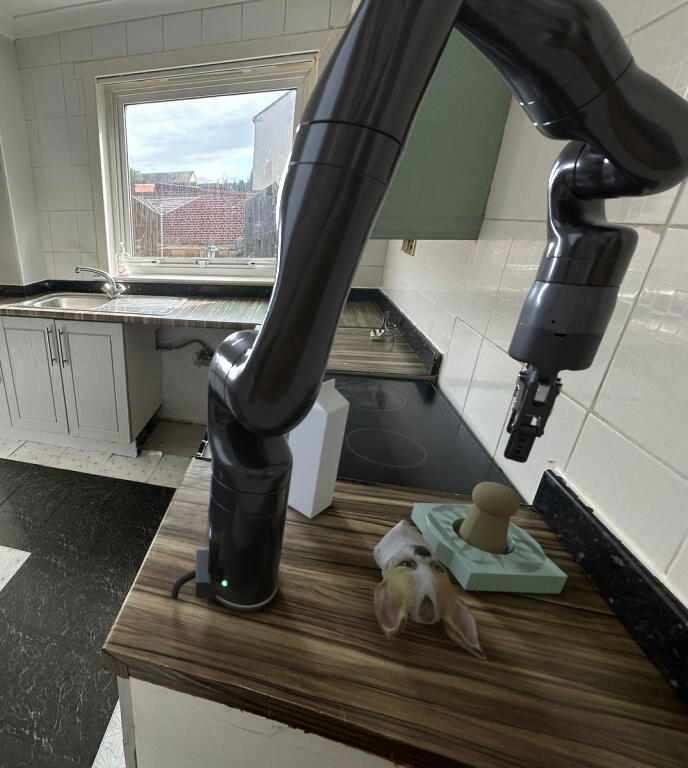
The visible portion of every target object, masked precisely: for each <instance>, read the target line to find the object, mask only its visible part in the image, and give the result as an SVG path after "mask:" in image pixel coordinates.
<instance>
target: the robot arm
mask: <svg viewBox="0 0 688 768" xmlns="http://www.w3.org/2000/svg"><path fill="white" fill-rule="evenodd" d="M453 30H455V31H456V32H457V33H458V34H460V35H461V37H463V38H464V39H465V40H466V41H467V42H468V44H470V45H471V46H472V47H474V49H476V51H477V52H478V53H480V55H481V56H482V57H483V58H484V59H485V61H487V62H488V64H489V65H490V66H491V67H492V68H493V69H494V71H495V72H496V73H497V74H498V76H499V77H500V78H501V79H502V80H503V83H504V84H505V85H506V86H507V88H508V89H509V90H510V92H511V94H512V95H513V97H514V98H515V99H516V101H517V102H518V104H519V106H520V107H521V108H522V110H523V112H524V113H525V114H526V116H527V118H528V120H530V122H531V123H532V124H533V126H534V128H535V129H536V130H537V131H538V132H539V133H540V135H541V136H542V137H544V138H545V139H548V140H551V141H559V142H560V141H561V142H567V143H566V144H565V146H564V147H563V148H562V149H561V150H560V152H559V154H558V155H557V156H556V158H555V160H554V162H553V164H552V166H551V169H550V171H549V174H548V175H549V176H548V180H547V189H546V191H547V192H546V243H545V244H546V245H545V248H544V250H543V253H542V257H541V259H540V262H539V265H538V268H537V271H536V274H535V277H534V280H533V283H532V285H531V287H530V289H529V291H528V293H527V295H526V297H525V299H524V301H523V305H522V308H521V310H520V314H519V317H518V320H517V322H516V326H515V329H514V332H513V335H512V338H511V341H510V344H509V347H508V350H507V354H508V356H509V357H510V358H511V359H512V360H515V361H516V362H519V363H522V364H526V365H525V368H524V370H519V371H518V374H517V376H516V377H517V378H516V381H515V384H516V385H515V387H514V390H513V396H512V397H514V399H513V401H512V409H511V414H510V417H509V420H508V423H507V426H506V429H505V431H506V433H507V434H509V437H508V440H507V442H506V445H505V449H504V451H503V457H504V458H505V459H506V460H509V461H513V462H517V463H521V464H524V463H526V462H528V459H529V457H530V454H531V452H532V449H533V446H534V443H535V441H536V439H537V438H539V439H540V438H542V436H544V434H545V429H546V425H547V423H548V420H549V418H550V417H551V416H552V415H553V411H554V407H555V404H556V400H557V398H558V397H559V396H560V394H561V393H562V389H563V386H564V384H563V383H561V382H562V377H559V373H560V372H562V371H570V372H581V371H585V370H588V369H590V368H591V366H593V365H592V364H593V363H594V360H595V357H596V355H597V353H598V350H599V348H600V346H601V343H602V341H603V338H604V336H605V333H606V331H607V329H608V327H609V324H610V322H611V319H612V316H613V314H614V311H615V309H616V305H617V302H618V296H619V293H620V290H621V289H620V288H621V285H622V284H623V281H624V279H625V276H626V274H627V272H628V270H629V267H630V264H631V262H632V259H633V257H634V255H635V252H636V251H637V247H638V244H639V238H640V235H639V232H638V231H637V230H636V229H635V228H632V227H631V226H627V225H622V224H618V223H613V222H610V221H608V218H607V213H606V200H617V199H636V198H646V197H650V196H656V195H659V194H662V193H664V192H668V191H669V190H671V189H674V188H675V187H677V186H678V185H680V184H681V183H683V182H684V181H685V180H687V179H688V100H687V99H685V98H684V97H682V96H681V95H680V94H678V93H677V92H676V91H674V90H673V89H671V87H669V86H668V85H666V84H665V83H663V82H662V81H661V80H660V79H658V78H657V77H655V76H654V75H652V74H651V73H649V72H647V71H645V70H644V69H642V68H640V67H639V66H638V64H637V62H636V60H635V58H634V56H633V54H632V51H631V49H630V48H629V46H628V44H627V42H626V40H625V39H624V36H623V35H622V33H621V31H620V30H619V27H618V25H617V24H616V22H615V20H614V19H613V17H612V16H611V14H610V12H609V11H608V10H607V9H606V7H605V6H604V5H603V4H602V3H601V2H600V1H599V0H360V2H359V4H358V5H357V7H356V9H355V11H354V12H353V14H352V16H351V18H350V20H349V22H348V23H347V25H346V27H345V29H344V31H343V33H342V35H340V38H339V40H338V41H337V44H336V45H335V47H334V49H333V50H332V53H331V54H330V56H329V58H328V60H327V62H326V64H325V66H324V67H323V70H322V72H321V74H319V75H320V76H319V77H318V79H317V82H316V83H315V86H314V87H313V90H312V91H311V93H310V96H309V98H308V100H307V103H306V105H305V106H304V107H305V108H304V110H303V112H302V115H301V118H300V120H299V123H298V126H297V127H296V132H295V135H294V138H293V142H292V144H291V148H290V150H289V154H288V157H287V160H286V163H285V167H284V169H283V173H282V175H281V180H280V184H279V188H278V193H277V194H278V195H277V202H276V214H275V215H276V216H275V244H276V246H275V247H276V253H275V254H276V256H275V272H274V281H273V287H272V291H271V295H270V299H269V302H268V305H267V307H266V308H267V309H266V311H265V314H264V316H263V319H262V322H261V325H260V327H259V330H258V329H243V330H240V331H236V332H235V333H232V334H231V335H229V336H227V337H226V338H225V339H224V340H223V341H222V342H221V343H220V344H219V345H218V346H217V348H216V349H215V351H214V353H213V355H212V358H211V360H210V364H209V368H208V375H207V387H206V388H207V391H206V395H207V397H206V398H207V399H206V434H207V436H206V437H207V443H208V447H209V452H210V482H209V501H208V503H209V504H208V507H207V513H206V515H207V516H206V533H205V534H206V535H205V536H206V537H205V549H196V550H195V564H194V565H195V569H192V570H190V571H188V572H187V573H184V574H183V575H181V576H180V577H178V578H177V579H176V581H174V584H172V585H173V586H172V587H171V593H170V598H171V600H175V601H177V600H178V598H179V595H180V594H179V593H180V589H181V588H182V587H183V586H184V585H185V584H186V583H188V582H190V581H192V580H194V579H195V599H205V600H206V599H207V600H212V601H216V602H217V603H219V604H220V605H222V606H223V607H225V608H228V609H230V610H233V611H235V612H241V613H252V612H253V613H254V612H257V611H260V610H263V609H265V608H266V607H269V605H271V603H272V602H273V601H274V600H275V598H276V597H277V594H278V593H277V592H278V587H279V586H278V585H279V571H280V565H281V557H282V549H283V542H284V537H285V536H284V534H285V528H286V519H287V512H288V506H289V505H288V499H289V491H290V484H291V476H292V469H293V455H292V452H291V449H290V447H289V444H288V443H289V441H288V440H287V437H286V434H290V431H292V430H293V429H294V428H296V427H297V426H298V425H299V424H300V423H301V422H302V421H303V420H304V419H305V418H306V416H307V415H308V414H309V412H310V411H311V409H312V407H313V405H314V403H315V401H316V399H317V397H318V394H319V391H320V388H321V385H322V383H324V379H325V375H326V372H327V368H328V365H329V361H330V357H331V353H332V351H333V346H334V343H335V341H336V336H337V332H338V329H339V326H340V322H341V318H342V315H343V312H344V309H345V306H346V304H347V303H346V302H347V300H348V297H349V294H350V291H351V289H352V287H353V284H354V281H355V279H356V277H357V274H358V271H359V268H360V265H361V262H362V259H363V257H364V255H365V253H366V252H365V251H366V248H367V246H368V243H369V241H370V238H371V235H372V233H373V231H374V227H375V225H376V223H377V220H378V218H379V215H380V213H381V211H382V209H383V207H384V204H385V202H386V200H387V197H388V195H389V193H390V191H391V188H392V185H393V183H394V180H395V178H396V175H397V172H398V171H399V167H400V165H401V163H402V160H403V158H404V154H405V152H406V150H407V147H408V144H409V141H410V139H411V135H412V132H413V130H414V128H415V124H416V121H417V118H418V116H419V114H420V111H421V108H422V106H423V103H424V101H425V99H426V96H427V94H428V91H429V89H430V87H431V85H432V82H433V79H434V78H435V75H436V72H437V70H438V68H439V64H440V63H441V60H442V58H443V55H444V53H445V50H446V48H447V45H448V43H449V39H450V37H451V34H452V32H453ZM534 418H535V419H536V421H535V425H534V424H532V422H533V420H534Z"/></svg>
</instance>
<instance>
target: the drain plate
mask: <svg viewBox="0 0 688 768" xmlns="http://www.w3.org/2000/svg"><path fill="white" fill-rule="evenodd" d="M472 506H473V504H468V503H466V504H465V503H438V502H437V503H433V502H414V504H413V508H412V512H411V515H410V519H411V520H412V521H413V523H414V524H415V526H416V527H417V528H418V530H419V531H420V532H421V535H422V536H423V538H424V539H425V540H426V541H427V542H428V544H429V545H430V547H431V549H432V551H433V553H434V554H435V556H436V558H437V560H438V561H439V563H440V564H442V565H444V566H445V567H446V568H448V569H449V571H450V572H451V574H452V575H453V576H454V578H455V579H456V580H457V581H458V583H459V584H460V586H461V587H462V588H463V590H464V591H476V592H504V593H526V594H527V593H528V594H529V593H530V594H553V595H554V594H557V595H559V594H561V592H562V590H563V589H564V586H565V584H566V582H567V579H568V577H569V576H568V575H567V573H566V572H564V571H563V570H562V569H561V568H559V566H557V565H556V563H554V562H553V561H552V560H551V559H550V558H549V557H548V556H546V554H545V552H544V550H543V548H542V546H541V544H540V543H539V542H537V540H536V539H534V538H533V536H532V535H530V534H529V533H528V532H527V531H526V530H525V529H523V528H521V527H519V526H518V525H516V524H514V523H513V522H511V521H510V522H509V528H508V534H507V539H506V545H505V551H504V555H498V554H492V553H488V552H484V551H481V550H479V549H477V548H475V547H473V546H470V545H469V544H468V543H466V542H465V541H463V540H462V539H460V538H459V537H458V535H457V532H458V530H459V529H460V527H461V525H462V523H463V522H464V520H465V518H466V516H467V514H468V513H469V511H470V509H471V507H472Z"/></svg>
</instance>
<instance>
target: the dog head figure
mask: <svg viewBox="0 0 688 768" xmlns="http://www.w3.org/2000/svg"><path fill="white" fill-rule="evenodd" d="M381 538H382V539H380V541H379V542H378V543H377V544H376V545H375V546H374V548H373V559H374V561H375V562H376V565H377V566H378V567H379V568H380V570H381V575H382V578H383V580H382V581H381V582H380V583H379V584H377V586H376V587H375V589H374V591H373V595H374V596H373V608H374V614H375V618H376V622H377V625H378V627H379V629H380V631H381V632H382V634H383V636H384V637H385V639H386V640H387V641H388V642H391V641H392V640H394V638H395V637H397V636H398V635H400V634H402V632H404V631H405V630H406V628H407V625H408V620H410V621H413V622H415V623H418V624H421V625H422V624H423V625H434V624H436V623H437V622H439V621H440V620H442V622H443V626H444V630H445V633H446V634H447V636H448V637H449V638H450V639H451V640H452V641H453V642H455V643H456V644H457V645H459V646H460V647H462V648H463V649H465V650H466V651H468V652H470V653H471V654H473V655H474V656H475V657H477V658H478V659H481V660H486V659H487V657H486V654H485V652H484V650H483V648H482V643H481V638H480V632H479V630H478V624H477V620H476V618H475V616H474V614H472V612H471V609H470V607H469V605H468V604H467V603H466V602H465V601H464V600H463V599H461V597H459V596H458V595H456V594H455V592H454V588H453V585H452V583H451V581H450V578H449V575H448V573H447V571H446V569H445V568H444V566H443V564H442V563H441V562H440V561H439V560H438V559H437V558H436V556H435V554H434V553H433V551H432V549H431V547H430V545H429V544H428V542H427V541H426V540H425V539H424V538H423V534H422V533H420V532H419V531H418V530H417V529H416V528H414V527H413V526H412V525H411V524H410V523H409V522H408V521H407V520H406V519H402V520H400V521H399V522H398V523H397V524H396V525H395V526H393V527H392V528H391V529H390V530H389V531H388V532H387V533H385V535H384V536H383V537H381Z"/></svg>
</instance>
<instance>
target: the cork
mask: <svg viewBox="0 0 688 768" xmlns="http://www.w3.org/2000/svg"><path fill="white" fill-rule="evenodd" d="M471 497H472V501H473V504H472V505H473V506H472V507H471V509H470V511H469V513H468V514H467V516H466V518H465V520H464V522H463V523H462V525H461V527H460V529H459V530H458V532H457V535H458V537H459V538H460V539H462V540H463V541H465V542H466V543H468V544H469V545H470V546H473V547H475V548H477V549H479V550H481V551H484V552H488V553H492V554H498V555H504V551H505V545H506V539H507V534H508V528H509V522H511V521H510V520H511V517H512V516H515V515H516V514H517V513H518V512H519V510H520V508H521V499H520V496H519V494H518V492H516V491H515V490H513V489H512V488H511V487H509V486H507V485H506V484H505V485H504V484H502V483H499V482H496V481H482V482H479V483H477V484H476V485H475V487H474V488H473V489H472V493H471Z"/></svg>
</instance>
